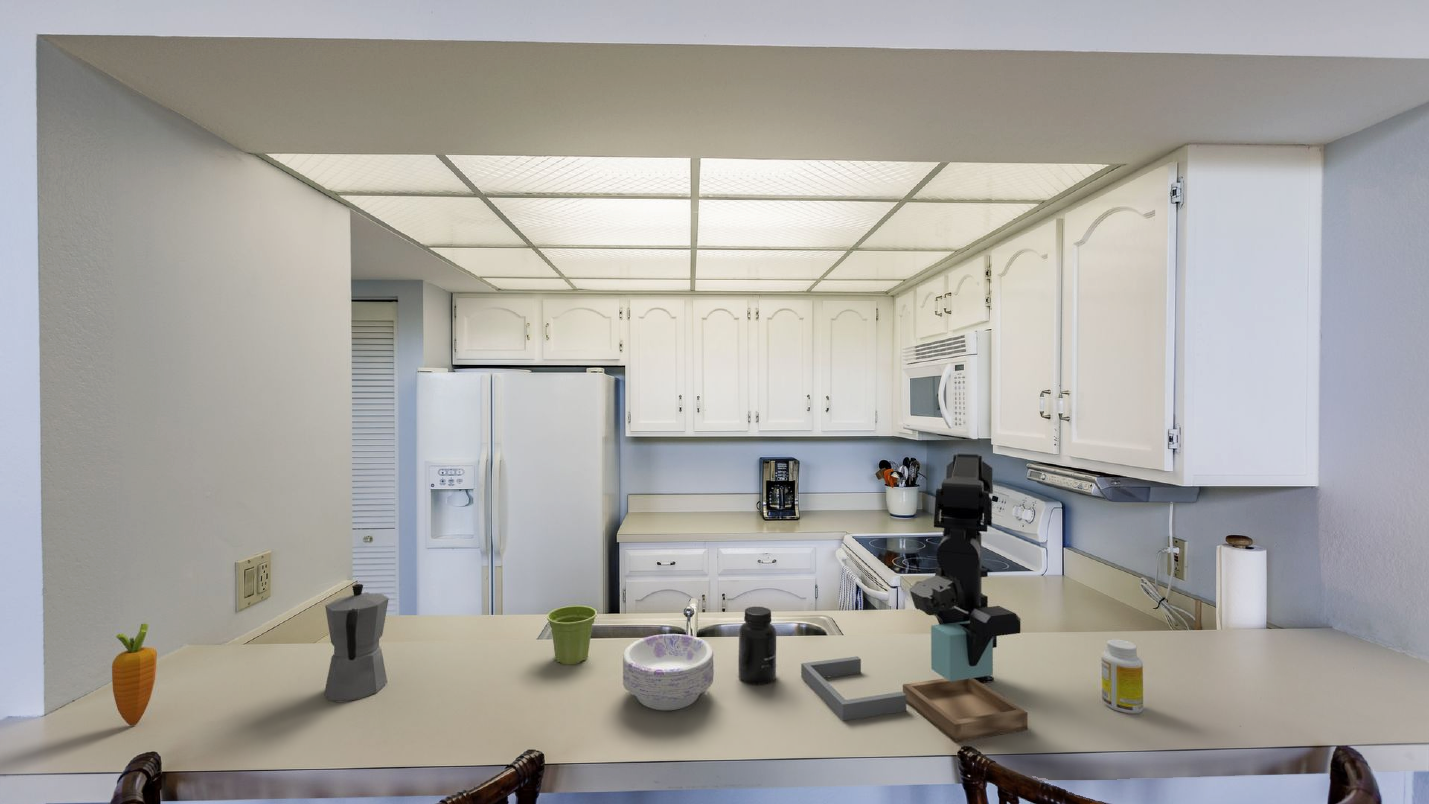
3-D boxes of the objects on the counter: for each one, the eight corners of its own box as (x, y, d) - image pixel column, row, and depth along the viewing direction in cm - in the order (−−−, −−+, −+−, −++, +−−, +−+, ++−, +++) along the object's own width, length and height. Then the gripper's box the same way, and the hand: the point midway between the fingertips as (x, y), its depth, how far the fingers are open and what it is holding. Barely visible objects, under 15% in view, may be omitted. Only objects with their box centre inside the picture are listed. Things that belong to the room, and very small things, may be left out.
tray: (968, 690, 101) (968, 674, 101) (1027, 729, 89) (1027, 712, 89) (902, 700, 98) (902, 684, 98) (955, 742, 85) (955, 724, 85)
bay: (857, 669, 109) (857, 656, 109) (906, 710, 94) (906, 695, 94) (801, 677, 106) (801, 663, 106) (842, 720, 91) (842, 704, 91)
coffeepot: (330, 678, 105) (331, 577, 105) (390, 668, 109) (391, 571, 109) (314, 720, 91) (315, 603, 91) (383, 706, 95) (384, 595, 95)
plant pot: (597, 666, 110) (597, 620, 110) (545, 671, 108) (545, 624, 108) (595, 646, 119) (596, 604, 119) (547, 651, 117) (548, 607, 117)
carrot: (115, 738, 85) (117, 635, 86) (105, 728, 88) (107, 628, 88) (161, 723, 90) (162, 624, 90) (150, 713, 92) (151, 618, 92)
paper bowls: (622, 725, 90) (622, 672, 90) (622, 679, 105) (623, 635, 105) (720, 717, 92) (720, 666, 92) (707, 674, 107) (707, 630, 107)
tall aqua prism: (977, 662, 97) (977, 620, 97) (997, 674, 93) (997, 629, 93) (931, 668, 94) (931, 625, 94) (949, 681, 90) (949, 635, 90)
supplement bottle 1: (774, 687, 102) (774, 618, 102) (735, 683, 103) (735, 615, 103) (777, 670, 109) (778, 605, 109) (741, 667, 110) (741, 603, 110)
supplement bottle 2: (1150, 710, 94) (1150, 647, 95) (1130, 718, 92) (1130, 653, 92) (1114, 695, 100) (1114, 635, 100) (1094, 702, 97) (1094, 640, 97)
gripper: (885, 550, 100) (885, 642, 100) (958, 582, 82) (959, 693, 82) (940, 546, 103) (940, 635, 103) (1023, 576, 85) (1023, 683, 85)
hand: (962, 659), depth 93 cm, fingers closed on tall aqua prism, 4 cm apart
